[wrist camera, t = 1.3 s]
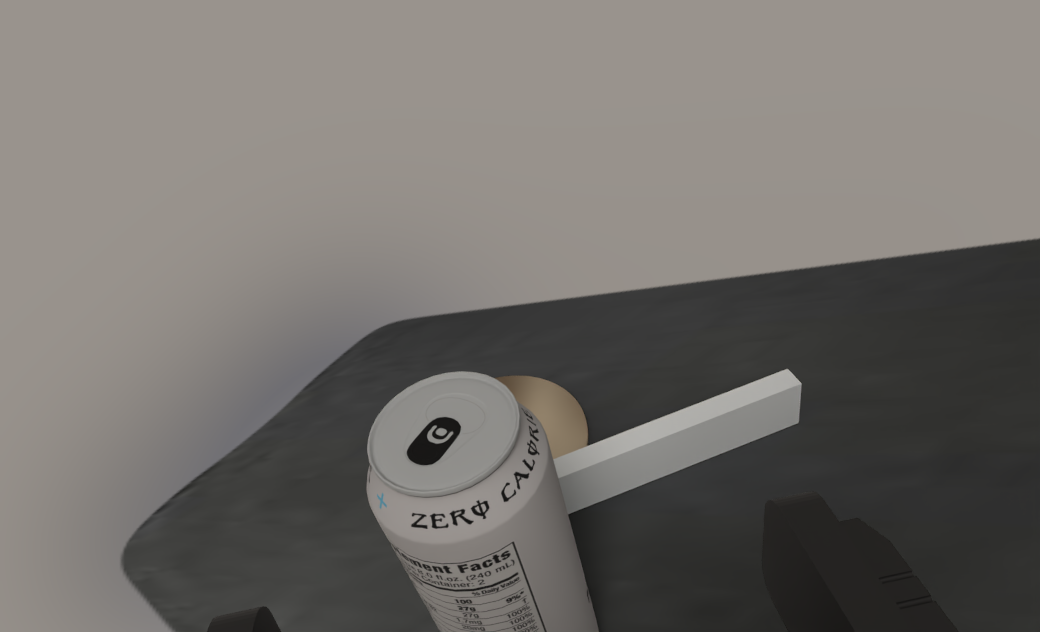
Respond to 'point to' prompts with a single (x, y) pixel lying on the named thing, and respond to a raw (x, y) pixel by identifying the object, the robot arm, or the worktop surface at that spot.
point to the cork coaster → (551, 412)
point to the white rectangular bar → (678, 440)
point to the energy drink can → (476, 508)
